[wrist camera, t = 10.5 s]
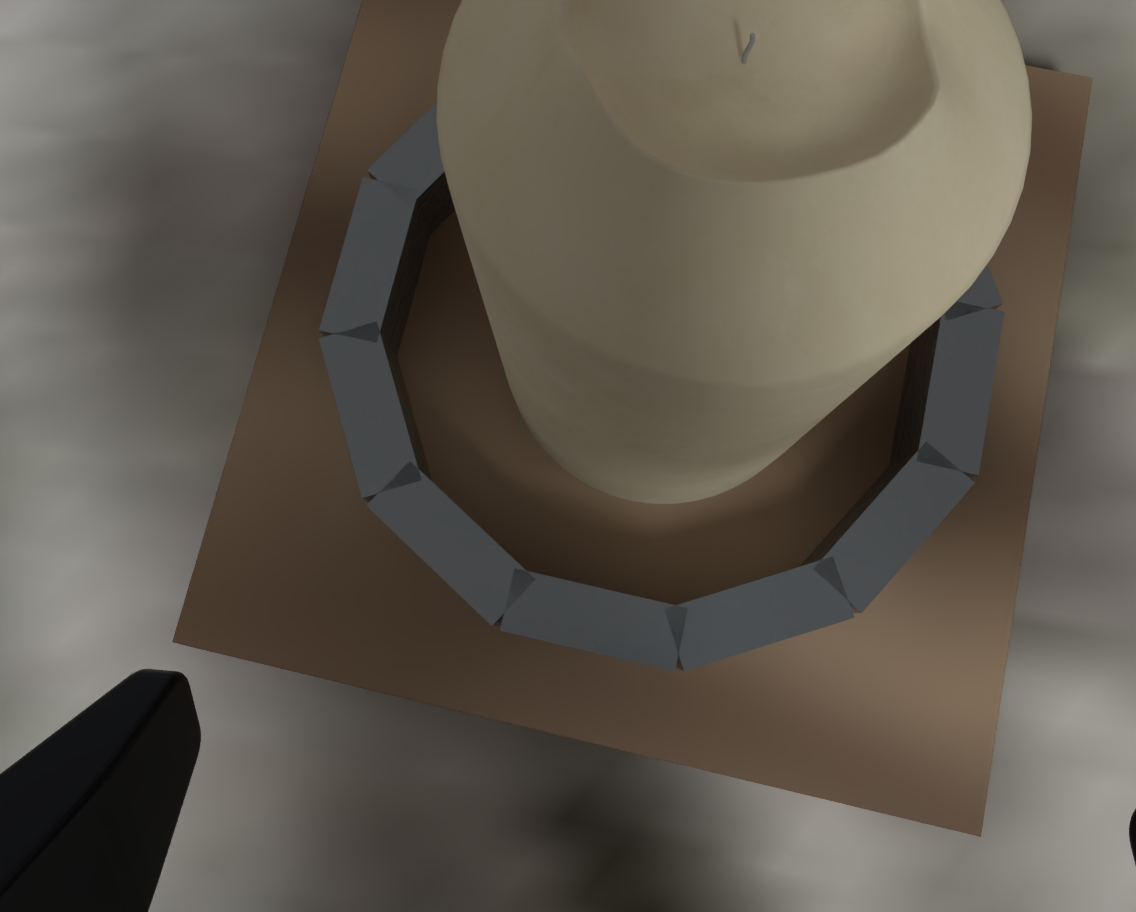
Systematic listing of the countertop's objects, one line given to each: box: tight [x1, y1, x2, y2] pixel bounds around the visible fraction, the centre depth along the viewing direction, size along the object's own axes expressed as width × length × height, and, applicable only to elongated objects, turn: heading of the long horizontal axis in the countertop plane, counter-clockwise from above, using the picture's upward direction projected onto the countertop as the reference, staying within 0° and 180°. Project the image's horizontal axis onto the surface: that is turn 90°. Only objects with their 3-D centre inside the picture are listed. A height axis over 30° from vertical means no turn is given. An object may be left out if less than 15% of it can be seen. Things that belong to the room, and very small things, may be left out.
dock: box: [173, 0, 1092, 837], centre depth 17 cm, size 14×14×2 cm
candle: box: [437, 0, 1032, 504], centre depth 12 cm, size 6×6×10 cm
